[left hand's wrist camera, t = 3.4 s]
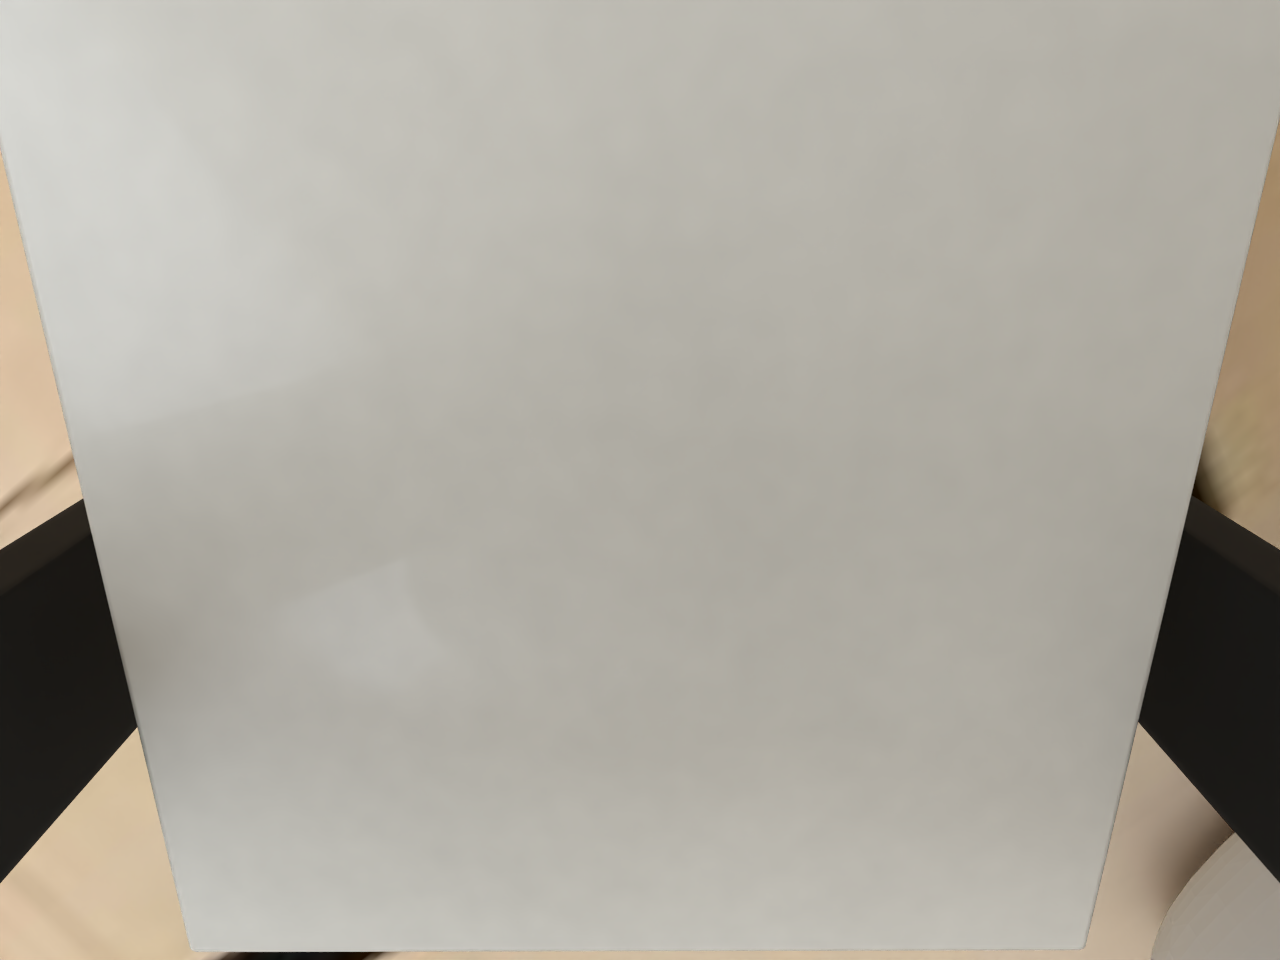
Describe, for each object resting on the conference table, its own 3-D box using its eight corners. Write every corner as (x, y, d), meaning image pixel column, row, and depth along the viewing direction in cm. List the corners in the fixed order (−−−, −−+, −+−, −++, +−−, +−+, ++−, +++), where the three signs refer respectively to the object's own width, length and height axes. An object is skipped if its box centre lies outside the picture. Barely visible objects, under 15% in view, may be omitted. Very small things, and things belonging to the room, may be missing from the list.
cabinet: (334, -351, 15) (-434, -1642, 4) (939, -350, 15) (1695, -1629, 4) (419, 545, 21) (187, 955, 10) (855, 544, 21) (1085, 952, 10)
